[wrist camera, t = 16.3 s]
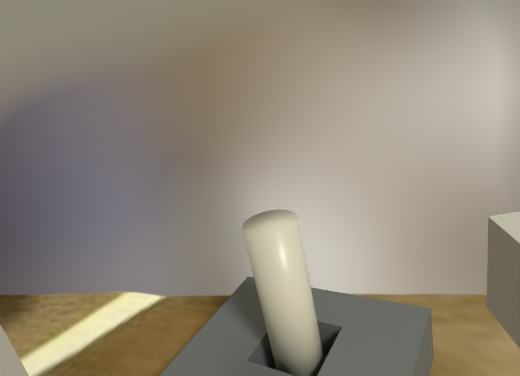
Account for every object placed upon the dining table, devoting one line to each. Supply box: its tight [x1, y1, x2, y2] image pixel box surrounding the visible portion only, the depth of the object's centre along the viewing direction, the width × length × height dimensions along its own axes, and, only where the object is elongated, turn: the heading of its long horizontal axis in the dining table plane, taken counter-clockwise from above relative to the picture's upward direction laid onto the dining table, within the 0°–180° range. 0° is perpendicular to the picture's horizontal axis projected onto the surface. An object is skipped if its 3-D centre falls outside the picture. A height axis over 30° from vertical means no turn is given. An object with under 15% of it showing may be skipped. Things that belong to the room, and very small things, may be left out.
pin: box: [242, 210, 325, 376], centre depth 31 cm, size 4×4×15 cm
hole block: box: [159, 277, 433, 376], centre depth 33 cm, size 18×14×5 cm
